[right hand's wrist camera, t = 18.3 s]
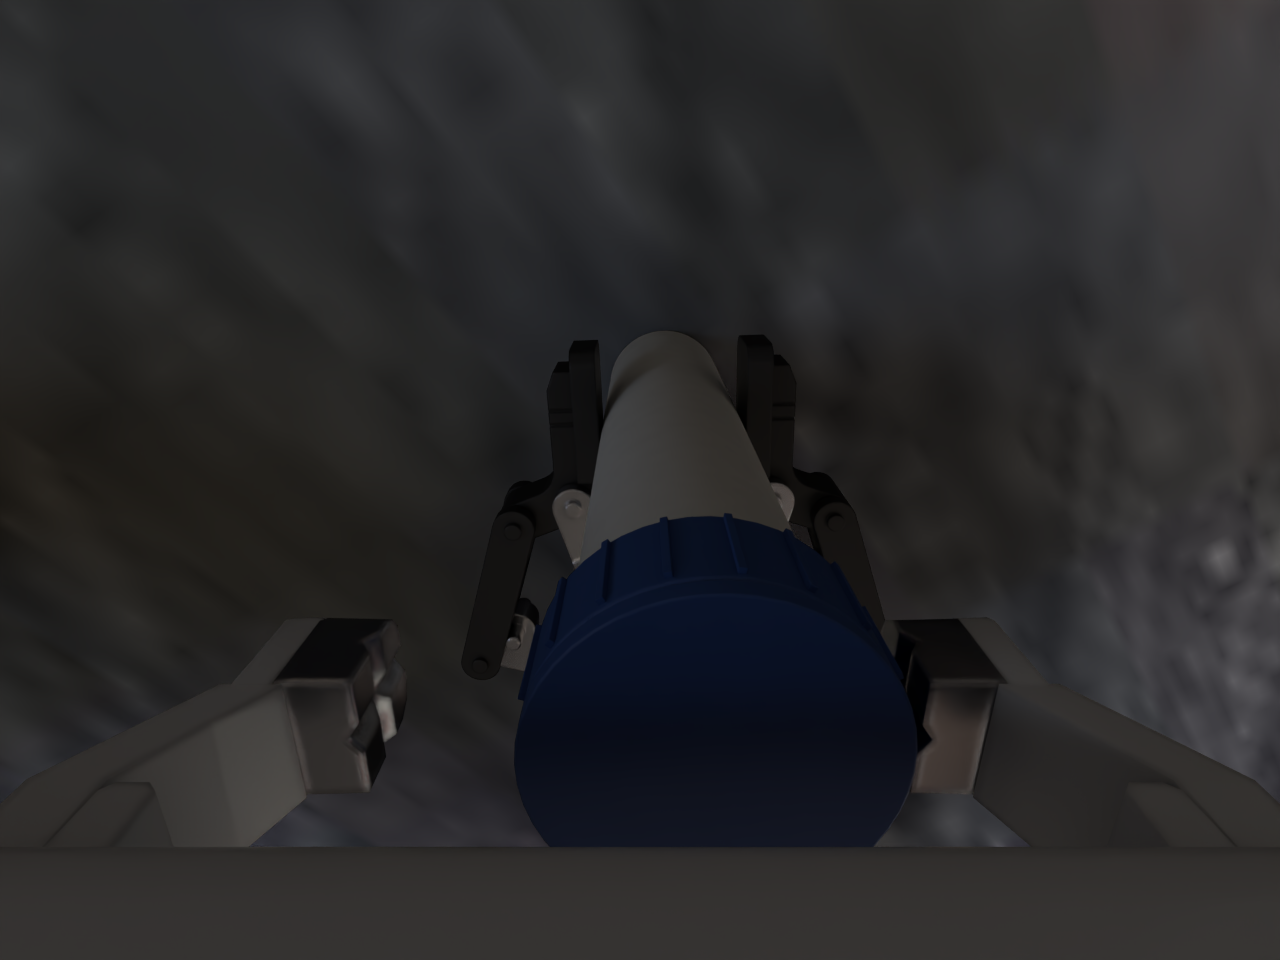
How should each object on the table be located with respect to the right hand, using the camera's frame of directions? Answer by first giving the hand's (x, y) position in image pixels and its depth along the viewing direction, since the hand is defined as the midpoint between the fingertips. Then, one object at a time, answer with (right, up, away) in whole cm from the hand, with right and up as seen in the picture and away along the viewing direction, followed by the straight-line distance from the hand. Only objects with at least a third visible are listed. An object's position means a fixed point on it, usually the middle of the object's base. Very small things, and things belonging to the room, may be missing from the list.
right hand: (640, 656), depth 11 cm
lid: (+1, -1, -2) cm, 2 cm away
